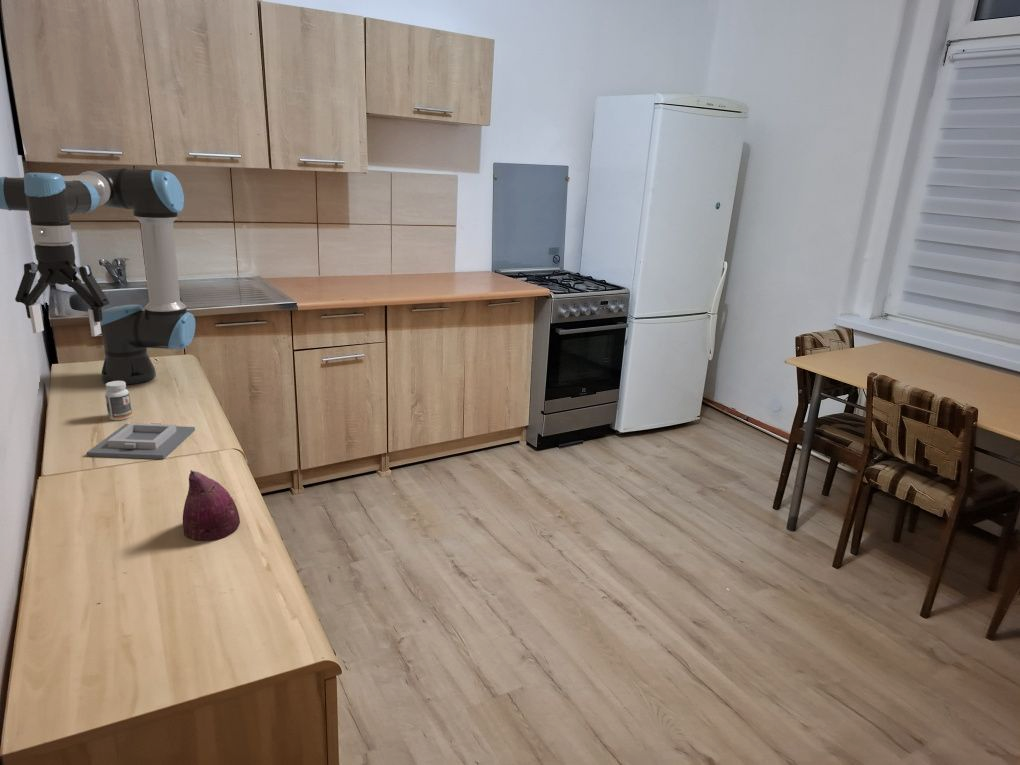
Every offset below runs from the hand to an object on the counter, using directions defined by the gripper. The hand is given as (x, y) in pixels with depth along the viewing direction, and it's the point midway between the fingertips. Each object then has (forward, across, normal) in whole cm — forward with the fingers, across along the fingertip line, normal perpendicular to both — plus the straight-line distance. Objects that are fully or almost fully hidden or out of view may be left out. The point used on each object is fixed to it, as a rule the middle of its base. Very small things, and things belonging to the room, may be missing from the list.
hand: (67, 333), depth 158 cm
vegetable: (+28, +47, -38) cm, 67 cm away
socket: (+28, +15, 0) cm, 32 cm away
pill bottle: (+28, 0, +16) cm, 32 cm away
